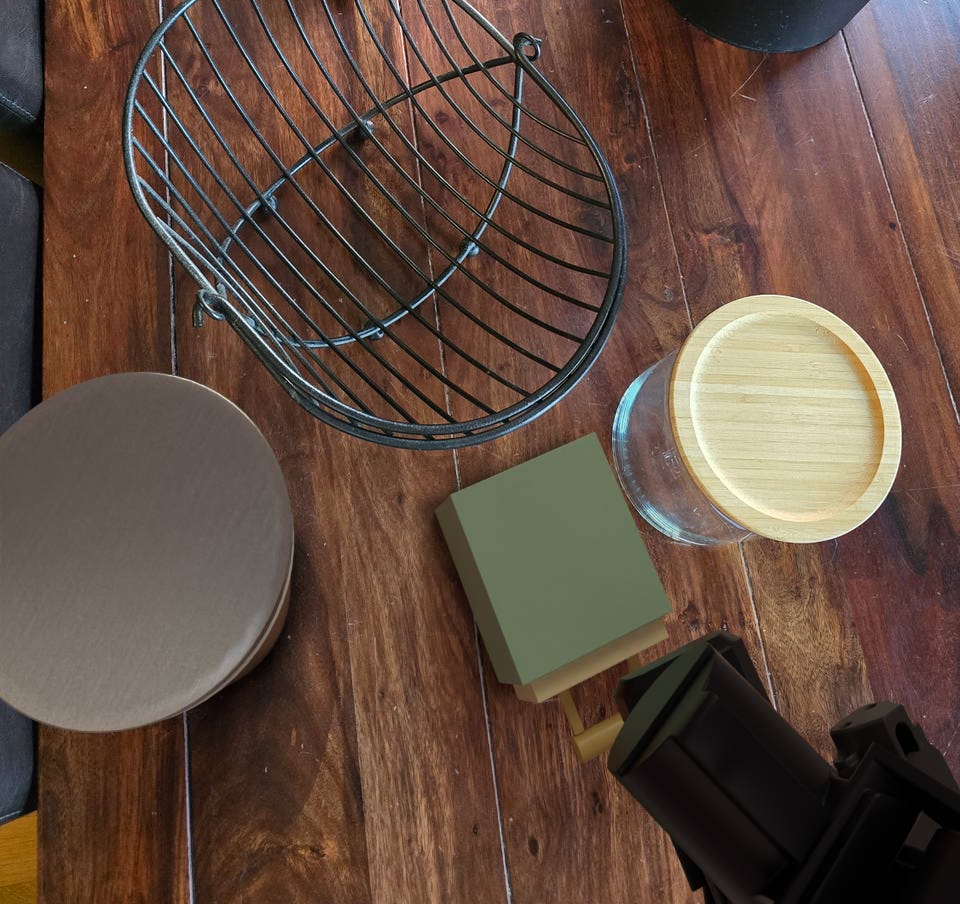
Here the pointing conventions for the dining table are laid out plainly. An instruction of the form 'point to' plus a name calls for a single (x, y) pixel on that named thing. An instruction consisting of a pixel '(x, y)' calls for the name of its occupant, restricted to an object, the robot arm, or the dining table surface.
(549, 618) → the cabinet
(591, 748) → the drawer
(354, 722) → the dining table surface
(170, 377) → the round grey canister
